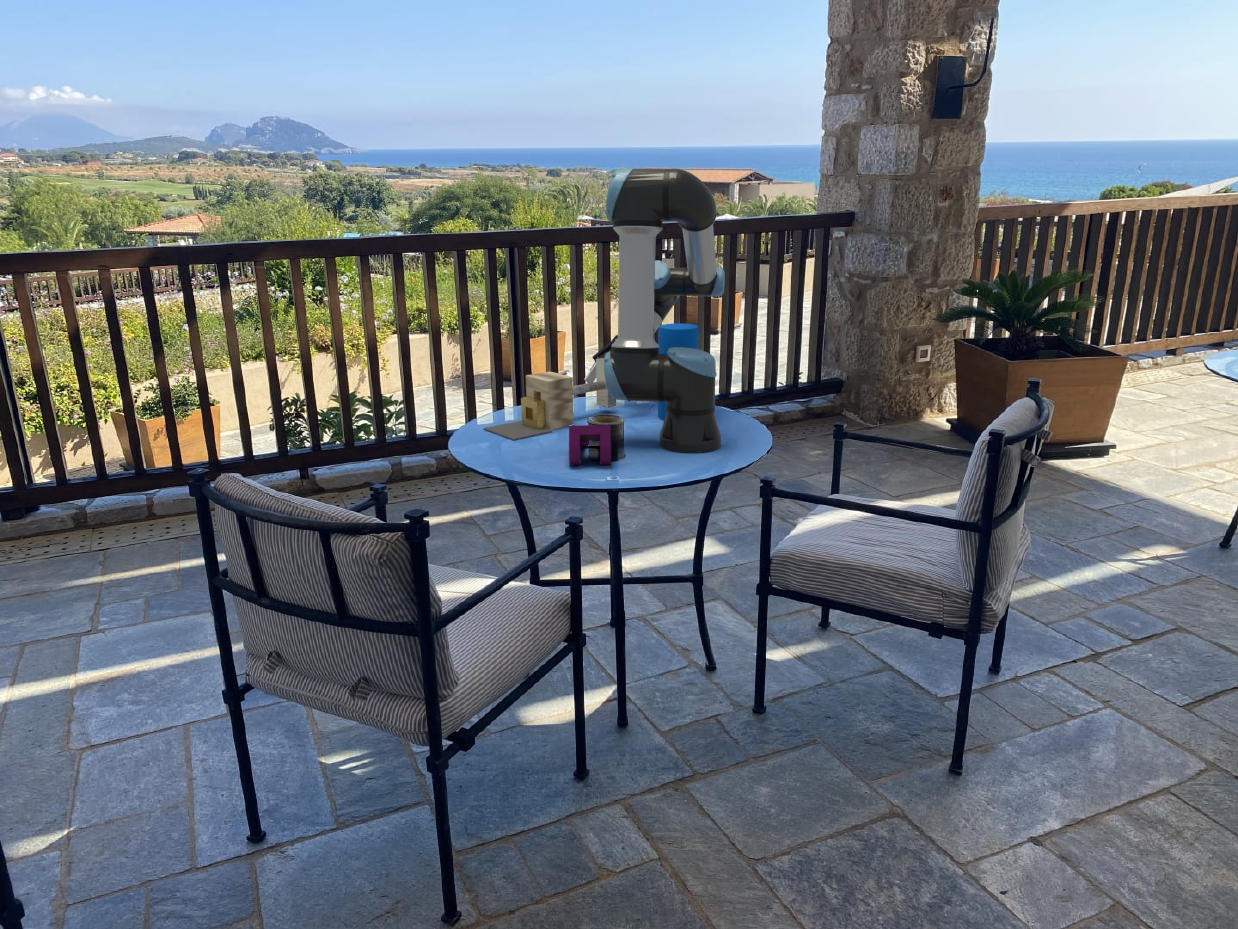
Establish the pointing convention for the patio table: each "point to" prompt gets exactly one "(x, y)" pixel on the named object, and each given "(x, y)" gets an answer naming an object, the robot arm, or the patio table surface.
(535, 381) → the wooden block
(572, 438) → the mounting bracket
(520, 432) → the rubber mat
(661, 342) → the tall blue cylinder
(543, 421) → the brass spacer
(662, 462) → the patio table surface
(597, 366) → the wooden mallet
